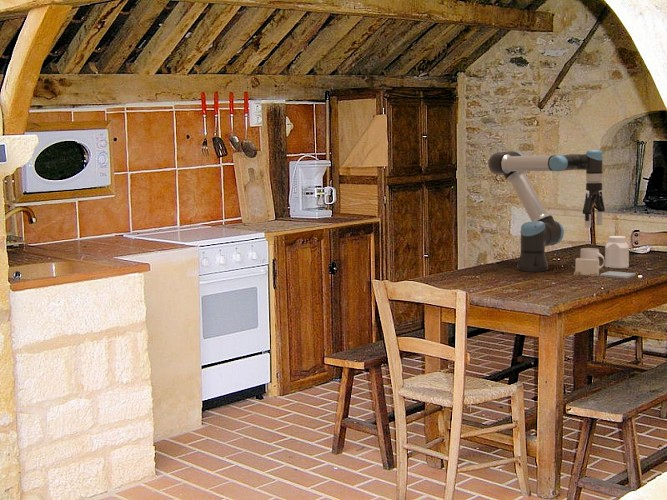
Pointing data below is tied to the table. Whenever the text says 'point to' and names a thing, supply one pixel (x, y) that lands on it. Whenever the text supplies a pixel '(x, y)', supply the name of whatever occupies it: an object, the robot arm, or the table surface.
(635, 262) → the table surface
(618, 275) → the plate
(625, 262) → the jar
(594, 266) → the beige block
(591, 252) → the mug
